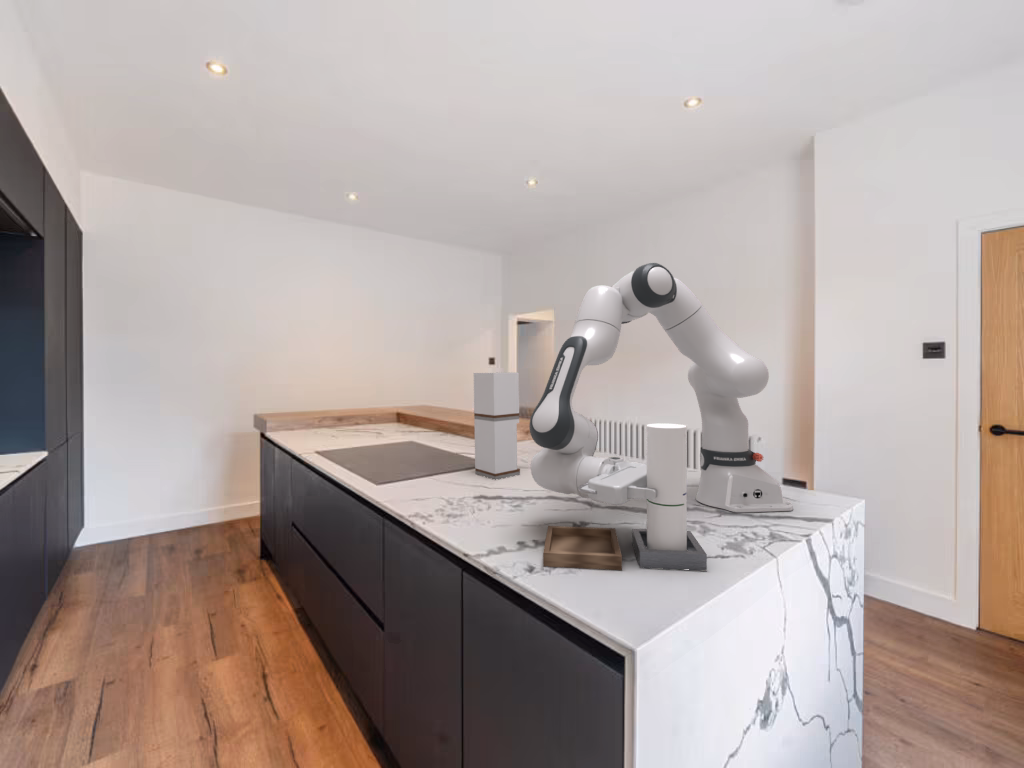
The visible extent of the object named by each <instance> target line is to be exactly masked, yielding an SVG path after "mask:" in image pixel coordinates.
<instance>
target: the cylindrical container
mask: <svg viewBox="0 0 1024 768" xmlns="http://www.w3.org/2000/svg"><path fill="white" fill-rule="evenodd" d="M687 429H688V428H687V425H685V424H679V423H678V424H677V423H658V422H657V423H648V424H646V429H645V430H646V464H647V488H648V487H649V488H655V489H657V498H655V499H654V500H650V499H646V529H647V546H646V549H653V550H676V551H687V531H688V530H687V529H688V527H687V523H688V521H687V520H688V519H687V518H688V515H687V514H688V511H687V510H688V509H687V506H688V505H687V503H688V501H687V499H688V497H687V495H688V493H687V491H688V487H687V486H688V485H687V482H688V481H687V477H688V475H687V473H688V472H687V466H688V464H687V459H688V458H687V453H688V452H687V438H688V437H687V433H688V432H687V431H688V430H687Z"/></svg>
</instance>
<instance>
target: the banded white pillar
mask: <svg viewBox="0 0 1024 768" xmlns="http://www.w3.org/2000/svg"><path fill="white" fill-rule="evenodd" d="M519 375H520V373H519V372H513V371H511V372H505V371H504V372H473V409H474V410H473V411H474V412H473V417H474V418H473V419H474V425H473V427H474V472H475V473H474V474H475V475H477V474H479V475H478V476H480V475H482V476H481V477H483V476H485V477H484V478H487V477H488V478H487V479H490V478H492V479H491V480H493V479H495V481H497V480H496V479H498V480H502V479H501V478H503V479H506V477H507V478H511V477H510V476H512V477H516V476H515V475H517V476H521V469H520V468H518V430H517V429H518V428H517V427H518V426H517V425H518V424H520V382H519V381H520V380H519V379H520V377H519Z"/></svg>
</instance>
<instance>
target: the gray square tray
mask: <svg viewBox="0 0 1024 768" xmlns="http://www.w3.org/2000/svg"><path fill="white" fill-rule="evenodd" d="M631 544H632V547H633V550H635V551H634V554H635V553H636V554H635V555H636V556H637V557H636V556H635V557H636V560H637V563H638V567H639V568H640V569H650V568H663V569H662V570H670V569H689V570H688V571H690V570H707V571H708V567H707V566H708V563H707V561H708V560H707V559H708V554H707V552H705V550H704V548H703V547H702V546H701V545H700V543H699V541H698V540H697V539H696V537H695V535H694V534H693V533H692V531H691V530H687V550H688V551H676V550H653V549H647V528H645V529H643V528H632V529H631Z"/></svg>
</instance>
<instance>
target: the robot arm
mask: <svg viewBox="0 0 1024 768" xmlns="http://www.w3.org/2000/svg"><path fill="white" fill-rule="evenodd" d="M648 314H652V315H653V316H654V317H655V318H656V319H657V322H658V323H659V324H660V326H661V327H662V329H663V331H665V333H666V334H667V336H668V337H669V338H670V340H671V341H672V343H673V344H674V346H675V347H676V348H677V349H678V351H679V352H680V354H682V355H683V356H685V357H687V358H688V359H689V360H691V361H692V362H693V363H692V364H691V365H690V366H689V369H688V372H687V378H688V383H689V384H690V386H691V387H692V389H693V390H694V393H695V396H696V400H697V405H698V407H699V411H700V416H701V440H702V441H701V447H700V451H699V465H700V466H699V467H700V469H701V471H700V478H699V479H700V480H699V484H698V488H697V492H696V495H695V500H696V501H697V502H699V503H701V504H703V505H706V506H710V507H713V508H718V509H722V510H726V511H730V512H733V513H758V512H759V513H760V512H761V513H763V512H764V513H765V512H788V511H789V512H790V511H793V510H794V506H793V503H792V502H791V501H790V500H788V499H787V498H785V497H783V492H782V489H781V486H780V482H779V481H778V480H777V479H776V478H774V476H772V475H771V474H769V473H768V472H767V471H765V470H764V469H763V468H762V467H760V466H759V465H757V464H756V463H759V462H760V463H761V462H763V460H764V455H763V454H761V453H759V452H754V451H753V450H751V449H749V420H748V418H747V416H746V415H745V413H744V412H743V411H742V409H741V406H740V403H739V400H738V399H743V398H746V397H752V396H755V395H758V394H760V393H761V392H762V391H763V390H765V388H766V387H767V384H768V382H769V377H770V376H769V369H768V367H767V365H766V364H765V362H764V361H762V359H760V358H758V357H756V356H754V355H752V354H751V353H749V352H747V351H746V350H745V349H743V348H742V347H741V346H740V345H739V344H737V343H736V342H735V341H734V340H733V339H732V338H731V337H729V336H728V335H727V334H726V333H725V332H724V331H723V330H722V329H721V328H720V327H719V326H718V324H717V323H716V321H715V320H714V319H713V317H712V316H711V315H710V313H709V312H708V311H707V309H706V308H705V306H704V305H703V304H702V302H701V301H700V299H699V298H698V297H697V295H695V294H694V292H693V291H692V290H691V289H690V288H689V287H688V286H687V285H686V284H685V283H684V282H682V281H681V279H679V278H677V277H674V275H673V274H672V272H671V271H670V270H669V269H668V268H667V267H665V266H664V265H662V264H660V263H657V262H650V263H646V264H643V265H640V266H638V267H637V268H636V269H633V270H632V271H631V272H628V273H627V274H625V275H624V276H622V277H621V278H620V279H619V280H618V281H616V282H615V283H614V284H613V285H611V286H609V285H604V284H603V285H601V284H599V285H595V286H591V288H589V289H588V290H587V291H586V293H585V294H584V297H583V299H582V301H581V303H580V305H579V308H578V310H577V314H576V316H575V320H574V325H573V327H572V328H573V329H572V332H571V334H570V337H568V338H567V339H566V340H565V342H564V343H562V345H561V348H560V349H559V352H558V353H557V356H556V360H555V361H554V364H553V366H552V370H551V373H550V375H549V377H548V378H549V379H548V381H547V383H546V386H545V389H544V392H543V394H542V396H541V397H540V400H539V401H538V403H537V405H536V406H535V408H534V410H533V411H532V413H531V415H530V420H529V434H530V436H531V438H532V440H533V442H534V443H535V444H536V445H537V446H539V447H541V448H542V449H540V450H539V451H538V452H537V453H535V454H534V455H533V457H532V459H531V462H530V473H531V476H532V479H533V481H534V482H535V483H536V485H538V486H540V487H541V488H543V489H545V490H547V491H551V492H555V493H560V494H564V495H565V494H566V495H571V494H573V495H577V496H579V497H582V498H585V499H590V500H591V501H592V500H593V501H596V502H600V503H604V504H606V505H611V506H621V505H623V504H625V503H626V502H628V501H630V500H647V499H650V500H654V499H655V498H657V489H655V488H649V487H648V488H647V463H642V462H636V461H630V460H624V458H623V457H619V456H614V457H613V456H611V457H603V456H594V455H595V451H596V448H597V446H598V445H597V444H598V440H599V432H598V428H597V426H596V425H595V423H594V422H593V421H592V420H590V419H589V418H588V417H586V416H584V415H583V414H580V413H578V412H577V411H575V410H574V408H573V403H572V400H573V397H574V394H575V393H576V388H577V385H578V383H579V380H580V377H581V374H582V372H583V370H584V369H585V368H586V367H587V366H599V365H602V364H605V363H606V362H608V361H610V360H611V359H612V358H613V356H614V355H615V352H616V351H617V350H616V349H617V348H618V343H619V341H620V340H619V339H620V335H621V330H622V325H624V324H628V323H630V322H632V321H635V320H637V319H640V318H642V317H645V316H647V315H648Z"/></svg>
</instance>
